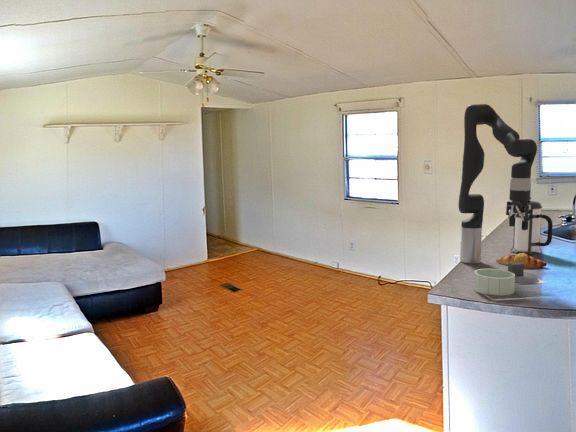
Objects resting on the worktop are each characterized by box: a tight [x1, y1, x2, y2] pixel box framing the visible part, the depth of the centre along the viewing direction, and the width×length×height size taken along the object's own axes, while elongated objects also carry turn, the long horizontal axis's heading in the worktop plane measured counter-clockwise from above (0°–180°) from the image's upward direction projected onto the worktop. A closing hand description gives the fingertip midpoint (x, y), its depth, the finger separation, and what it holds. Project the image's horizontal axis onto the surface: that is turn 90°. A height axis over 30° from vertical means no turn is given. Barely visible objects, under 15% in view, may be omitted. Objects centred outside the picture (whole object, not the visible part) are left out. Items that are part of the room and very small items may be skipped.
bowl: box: [473, 268, 516, 296], centre depth 166 cm, size 14×14×7 cm
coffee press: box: [510, 196, 553, 257], centre depth 225 cm, size 17×16×30 cm
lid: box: [505, 263, 539, 285], centre depth 181 cm, size 16×16×6 cm
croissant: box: [495, 252, 548, 269], centre depth 201 cm, size 21×10×8 cm
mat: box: [515, 278, 547, 285], centre depth 181 cm, size 16×16×1 cm
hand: (518, 228), depth 178 cm, fingers open, 8 cm apart
